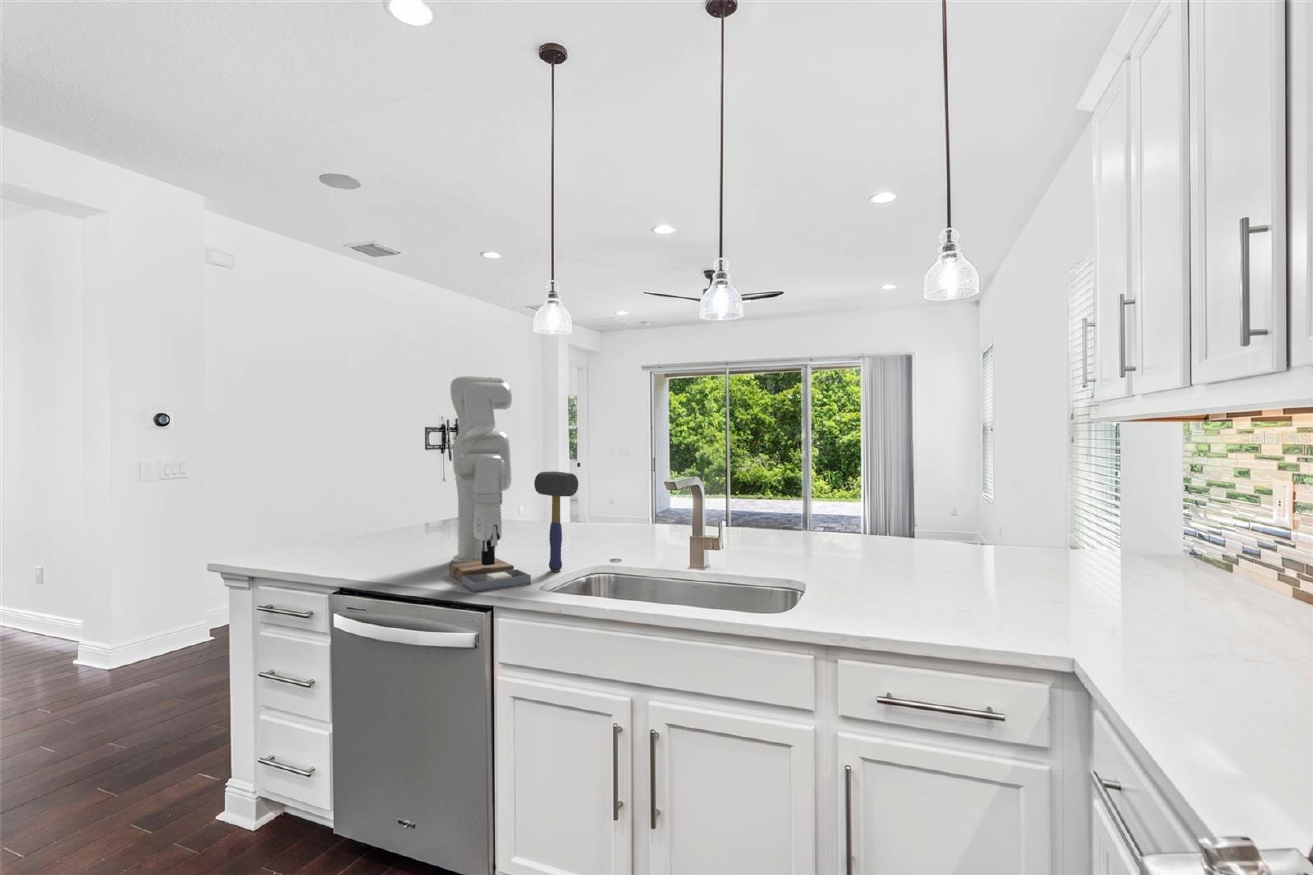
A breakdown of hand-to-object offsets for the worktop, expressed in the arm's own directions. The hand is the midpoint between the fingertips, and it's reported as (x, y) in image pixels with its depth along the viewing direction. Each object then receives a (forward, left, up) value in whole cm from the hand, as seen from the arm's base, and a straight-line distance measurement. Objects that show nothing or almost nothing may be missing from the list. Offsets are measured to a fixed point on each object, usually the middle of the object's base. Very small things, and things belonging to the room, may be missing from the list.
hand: (488, 564), depth 173 cm
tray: (+6, 0, -4) cm, 8 cm away
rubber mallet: (0, +21, -5) cm, 21 cm away
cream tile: (+8, 0, -1) cm, 8 cm away
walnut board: (-5, 0, -5) cm, 7 cm away
